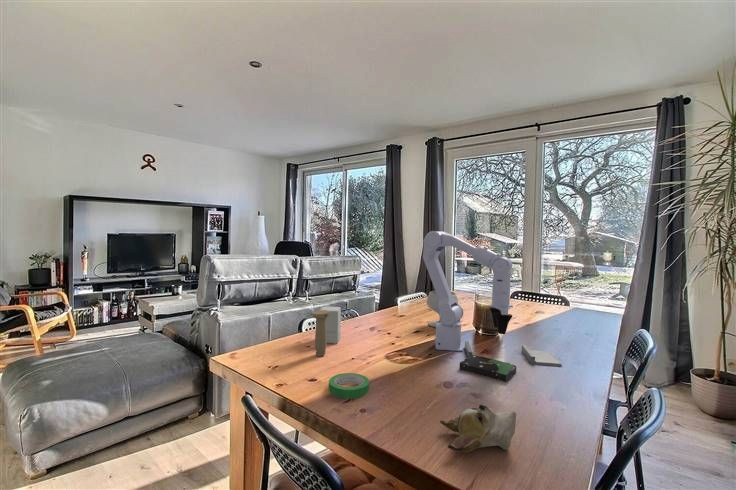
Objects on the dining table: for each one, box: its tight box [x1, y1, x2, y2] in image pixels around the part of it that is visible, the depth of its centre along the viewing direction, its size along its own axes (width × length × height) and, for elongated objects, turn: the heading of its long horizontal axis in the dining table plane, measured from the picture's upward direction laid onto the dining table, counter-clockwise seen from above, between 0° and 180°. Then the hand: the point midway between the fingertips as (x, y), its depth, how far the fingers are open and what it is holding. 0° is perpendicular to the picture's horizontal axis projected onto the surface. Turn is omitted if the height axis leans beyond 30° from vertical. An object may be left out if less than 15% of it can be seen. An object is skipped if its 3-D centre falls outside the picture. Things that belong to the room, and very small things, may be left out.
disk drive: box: [459, 353, 517, 383], centre depth 113 cm, size 10×3×15 cm
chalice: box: [426, 290, 459, 328], centre depth 164 cm, size 14×14×15 cm
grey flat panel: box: [464, 340, 563, 367], centre depth 126 cm, size 30×12×2 cm, turn 81°
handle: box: [311, 309, 330, 357], centre depth 123 cm, size 5×6×15 cm
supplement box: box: [320, 306, 342, 344], centre depth 139 cm, size 7×7×13 cm
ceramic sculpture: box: [439, 404, 517, 454], centre depth 74 cm, size 11×9×15 cm
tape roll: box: [328, 372, 370, 400], centre depth 98 cm, size 11×11×3 cm
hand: (499, 330), depth 125 cm, fingers open, 7 cm apart
